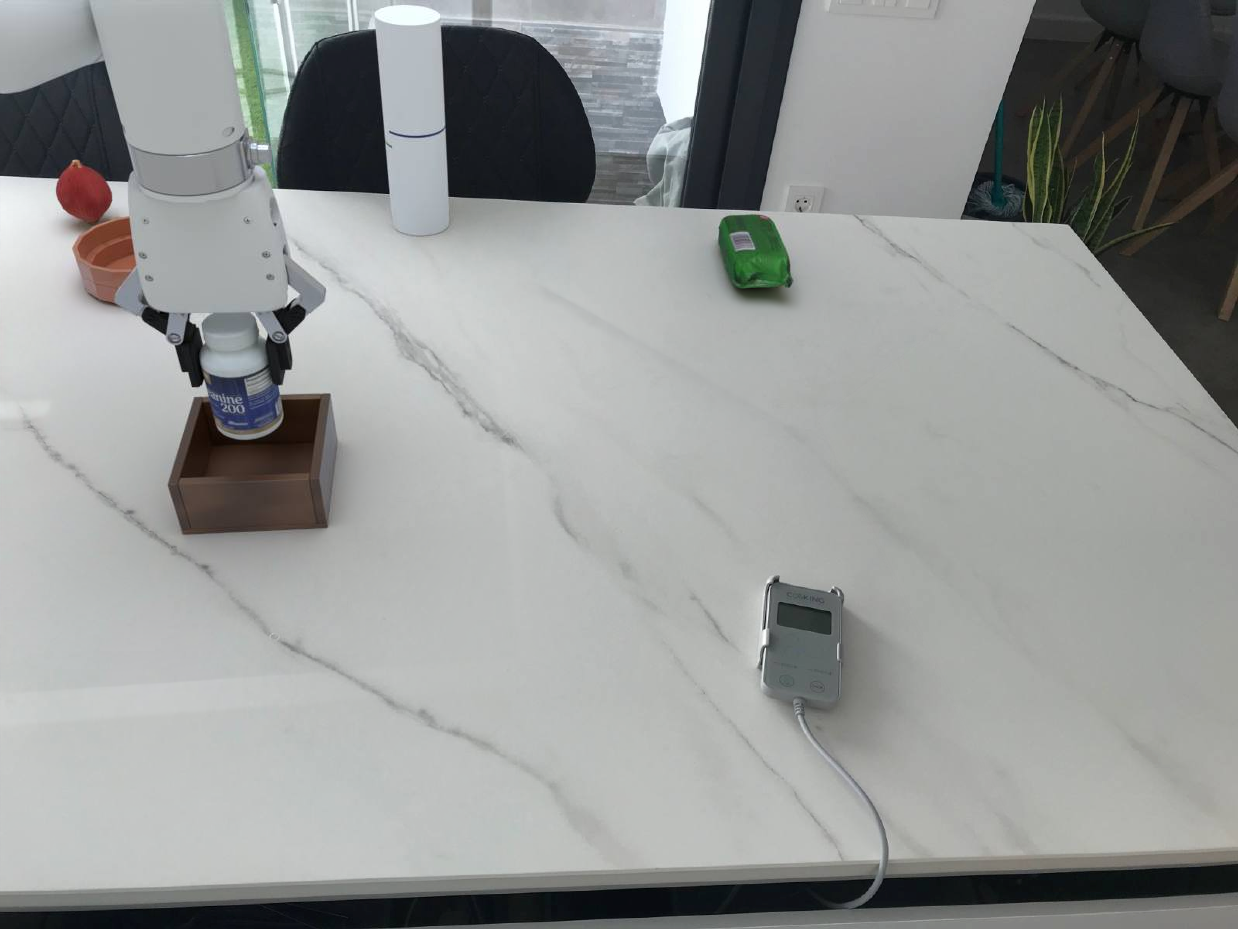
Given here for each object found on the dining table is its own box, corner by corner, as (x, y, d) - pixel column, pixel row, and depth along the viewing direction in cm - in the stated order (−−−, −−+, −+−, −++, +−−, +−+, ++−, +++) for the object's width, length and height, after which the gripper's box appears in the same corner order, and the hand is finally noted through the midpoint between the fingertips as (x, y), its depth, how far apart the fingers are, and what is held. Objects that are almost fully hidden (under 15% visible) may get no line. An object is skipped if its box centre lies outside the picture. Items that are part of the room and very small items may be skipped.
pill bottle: (201, 425, 80) (175, 325, 74) (252, 394, 84) (231, 296, 78) (248, 450, 79) (225, 350, 72) (298, 417, 82) (280, 319, 76)
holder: (182, 534, 81) (167, 484, 77) (206, 444, 89) (193, 396, 86) (327, 527, 82) (319, 478, 79) (337, 440, 91) (330, 392, 87)
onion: (56, 223, 118) (35, 159, 112) (99, 207, 121) (81, 144, 116) (85, 238, 115) (65, 174, 110) (129, 222, 119) (111, 159, 114)
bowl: (70, 308, 104) (57, 272, 101) (101, 248, 114) (90, 214, 111) (198, 306, 106) (190, 271, 103) (218, 248, 116) (211, 214, 113)
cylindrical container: (424, 241, 121) (410, 29, 104) (380, 224, 123) (360, 14, 107) (460, 220, 125) (453, 14, 109) (417, 204, 128) (404, 0, 112)
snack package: (731, 305, 114) (738, 265, 111) (711, 239, 126) (717, 202, 123) (790, 306, 115) (799, 267, 112) (765, 241, 127) (772, 204, 124)
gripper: (327, 138, 71) (353, 347, 82) (72, 135, 68) (137, 352, 80) (317, 184, 65) (347, 401, 77) (39, 182, 62) (114, 408, 74)
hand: (240, 374), depth 78 cm, fingers closed on pill bottle, 5 cm apart
